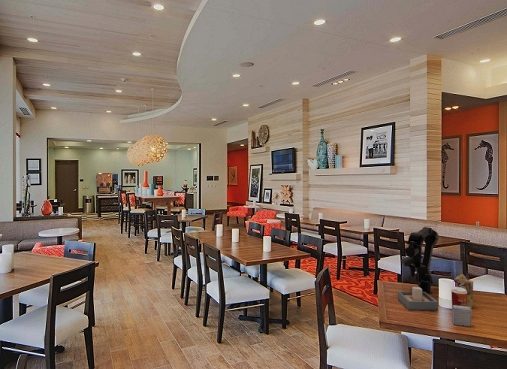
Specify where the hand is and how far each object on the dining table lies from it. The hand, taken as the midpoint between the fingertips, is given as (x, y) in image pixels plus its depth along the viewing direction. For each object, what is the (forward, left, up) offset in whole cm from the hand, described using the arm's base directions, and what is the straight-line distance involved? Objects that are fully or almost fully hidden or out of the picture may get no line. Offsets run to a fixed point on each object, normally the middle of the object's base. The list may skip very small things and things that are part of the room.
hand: (416, 278), depth 211 cm
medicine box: (-8, +35, -12) cm, 38 cm away
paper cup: (-13, +23, -12) cm, 29 cm away
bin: (+4, +11, -12) cm, 17 cm away
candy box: (-22, +11, -12) cm, 28 cm away
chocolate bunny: (-28, -1, -12) cm, 31 cm away
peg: (+4, +11, -11) cm, 16 cm away
